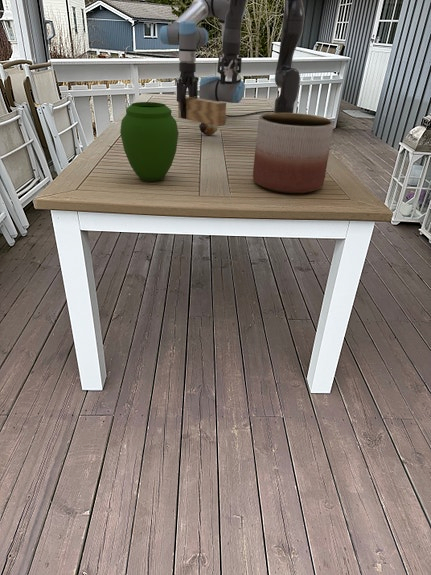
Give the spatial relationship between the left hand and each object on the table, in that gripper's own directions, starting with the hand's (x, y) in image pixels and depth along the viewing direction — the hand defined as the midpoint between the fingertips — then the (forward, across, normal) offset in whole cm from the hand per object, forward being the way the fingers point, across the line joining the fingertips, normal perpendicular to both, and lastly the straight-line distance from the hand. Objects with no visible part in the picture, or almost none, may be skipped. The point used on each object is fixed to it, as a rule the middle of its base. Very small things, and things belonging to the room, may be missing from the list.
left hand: (187, 117), depth 196 cm
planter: (+10, -27, -71) cm, 77 cm away
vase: (+10, -57, -33) cm, 66 cm away
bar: (+1, 0, -9) cm, 9 cm away
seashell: (+10, +15, -2) cm, 18 cm away
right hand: (-16, +4, -20) cm, 26 cm away
